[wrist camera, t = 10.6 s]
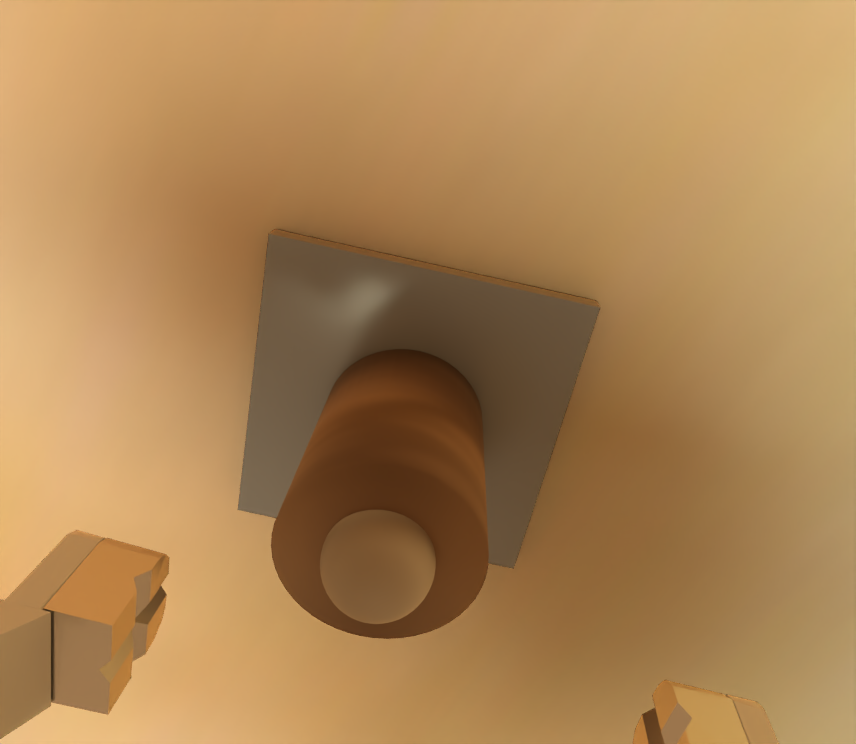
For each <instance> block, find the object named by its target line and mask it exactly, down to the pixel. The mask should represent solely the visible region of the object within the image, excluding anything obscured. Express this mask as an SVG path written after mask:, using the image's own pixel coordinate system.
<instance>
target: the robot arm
mask: <svg viewBox="0 0 856 744" xmlns="http://www.w3.org/2000/svg"><path fill="white" fill-rule="evenodd" d="M168 574H169V557H168V556H167V555H166V554H163V553H160V552H156V551H153V550H149V549H146V548H142V547H138V546H135V545H131V544H128V543H124V542H120V541H117V540H113V539H110V538H103V537H100V536H96V535H93V534H89V533H86V532H82V531H79V530H76V531H73V532H71V533H69V534H68V535H66V536H65V537H64V538H63V539H62V540H61V541H60V543H59V544H58V545H57V546H56V547H55V548H54V549H53V550H52V551H51V552H50V553H49V554H48V555H47V556H46V557H45V558H44V559H43V560H42V562H41V563H40V564H39V565H38V566H37V567H36V568H35V569H34V570H33V571H32V572H31V573H30V574H29V575H28V576H27V577H26V578H25V580H24V581H23V582H22V583H21V584H20V585H19V586H18V587H17V588H16V589H15V590H14V591H13V592H12V593H11V594H10V595H9V596H8V597H7V599H6V600H1V599H0V739H1V738H3V737H4V736H6V735H7V734H9V733H10V732H12V731H13V730H15V729H16V728H18V727H20V726H21V725H23V724H24V723H26V722H27V721H29V720H30V719H32V718H33V717H35V716H36V715H38V714H39V713H41V712H42V711H44V710H45V709H47V708H48V707H50V706H51V702H53V703H57V704H62V705H66V706H71V707H75V708H80V709H85V710H89V711H94V712H98V713H103V714H107V715H108V714H109V713H110V711H111V709H112V708H113V706H114V704H115V703H116V701H117V700H118V698H119V696H120V695H121V693H122V691H123V690H124V688H125V687H126V685H127V683H128V682H129V680H130V679H131V671H132V661H134V660H136V659H137V658H139V657H141V656H143V655H145V654H146V652H147V651H148V649H149V647H150V645H151V644H152V642H153V640H154V638H155V636H156V634H157V631H158V629H159V626H160V624H161V621H162V618H163V614H164V610H165V605H166V596H167V594H166V593H165V591H164V590H163V588H162V587H161V584H162V583H163V581H164V580H165V578H166V577H167V575H168ZM652 696H653V700H654V704H655V708H654V709H652V710H650V711H648V712H646V713H644V714H642V716H641V718H640V720H639V722H638V724H637V726H636V728H635V733H634V739H633V744H779V743H778V741H777V738H776V736H775V734H774V731H773V729H772V726H771V724H770V722H769V719H768V717H767V715H766V712H765V710H764V708H763V707H762V706H761V705H760V704H759V703H758V702H756V701H752V700H748V699H743V698H739V697H735V696H731V695H724V694H722V693H718V692H714V691H710V690H705V689H701V688H697V687H693V686H689V685H685V684H681V683H676V682H672V681H668V680H664V681H663V682H661V683H660V684H659V685H658V686H657V688H656V690H655V692H654V693H653V695H652Z"/></svg>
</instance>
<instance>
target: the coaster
mask: <svg viewBox="0 0 856 744" xmlns="http://www.w3.org/2000/svg"><path fill="white" fill-rule="evenodd" d="M599 310H600V306H599V304H598V302H597V301H595V300H591V299H586V298H582V297H578V296H573V295H569V294H564V293H560V292H555V291H551V290H546V289H542V288H537V287H533V286H528V285H524V284H519V283H515V282H510V281H506V280H501V279H497V278H492V277H488V276H483V275H479V274H474V273H470V272H466V271H461V270H457V269H452V268H448V267H443V266H439V265H434V264H430V263H425V262H421V261H416V260H412V259H407V258H403V257H398V256H394V255H389V254H385V253H380V252H376V251H371V250H367V249H362V248H358V247H353V246H349V245H345V244H340V243H336V242H331V241H327V240H322V239H318V238H313V237H309V236H304V235H300V234H295V233H291V232H286V231H282V230H277V229H274V230H273V231H272V232H270V233H269V236H268V245H267V254H266V263H265V272H264V281H263V290H262V299H261V307H260V316H259V325H258V334H257V343H256V352H255V361H254V370H253V379H252V388H251V397H250V406H249V414H248V423H247V432H246V441H245V450H244V459H243V468H242V477H241V486H240V495H239V504H238V510H241V511H246V512H250V513H255V514H260V515H265V516H269V517H274V518H277V516H278V513H279V511H280V508H281V506H282V504H283V501H284V499H285V497H286V494H287V492H288V490H289V487H290V485H291V483H292V480H293V478H294V476H295V473H296V471H297V469H298V466H299V464H300V462H301V459H302V457H303V455H304V452H305V450H306V448H307V445H308V443H309V441H310V439H311V436H312V434H313V432H314V429H315V427H316V425H317V422H318V420H319V418H320V415H321V413H322V411H323V408H324V406H325V404H326V401H327V399H328V397H329V394H330V392H331V390H332V388H333V386H334V384H335V382H336V381H337V379H338V378H339V377H340V376H341V375H342V373H343V372H344V371H345V370H346V369H348V368H349V367H350V366H351V365H352V364H354V363H355V362H357V361H358V360H360V359H362V358H364V357H366V356H368V355H371V354H374V353H377V352H381V351H386V350H394V349H409V350H416V351H421V352H424V353H428V354H431V355H433V356H436V357H438V358H440V359H442V360H444V361H446V362H447V363H449V364H450V365H452V366H453V367H454V368H456V369H457V370H458V371H459V372H460V373H461V374H462V375H463V376H464V377H465V378H466V379H467V381H468V382H469V383H470V384H471V386H472V388H473V389H474V391H475V393H476V395H477V398H478V400H479V403H480V407H481V411H482V421H483V443H484V464H485V485H486V507H487V528H488V549H489V560H488V563H490V564H494V565H499V566H504V567H508V568H513V569H514V566H515V563H516V560H517V557H518V554H519V551H520V548H521V545H522V542H523V539H524V536H525V533H526V530H527V527H528V524H529V521H530V518H531V515H532V512H533V509H534V506H535V503H536V500H537V497H538V494H539V491H540V488H541V485H542V482H543V479H544V476H545V473H546V470H547V467H548V464H549V461H550V458H551V455H552V452H553V449H554V446H555V443H556V440H557V437H558V433H559V430H560V427H561V424H562V421H563V418H564V415H565V412H566V409H567V406H568V403H569V400H570V397H571V394H572V391H573V388H574V385H575V382H576V379H577V376H578V373H579V370H580V367H581V364H582V361H583V358H584V355H585V352H586V349H587V346H588V343H589V340H590V337H591V334H592V331H593V328H594V325H595V322H596V319H597V316H598V313H599Z"/></svg>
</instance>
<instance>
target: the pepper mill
mask: <svg viewBox="0 0 856 744" xmlns="http://www.w3.org/2000/svg"><path fill="white" fill-rule="evenodd" d="M271 548H272V558H273V561H274V565H275V569H276V571H277V573H278V576H279V578H280V580H281V582H282V583H283V585H284V587H285V588H286V590H287V591H288V592H289V594H290V595H291V596H292V598H293V599H294V600H295V601H296V602H297V603H298V604H299V605H300V606H301V607H302V608H304V609H305V610H306V611H307V612H309V613H310V614H311V615H313V616H314V617H316V618H317V619H319V620H321V621H322V622H324V623H326V624H328V625H330V626H332V627H334V628H337V629H339V630H342V631H345V632H348V633H351V634H355V635H359V636H365V637H372V638H386V639H389V638H404V637H410V636H416V635H419V634H423V633H427V632H429V631H432V630H435V629H437V628H439V627H441V626H443V625H445V624H447V623H449V622H450V621H452V620H453V619H455V618H456V617H457V616H459V615H460V614H461V613H462V612H463V611H464V610H466V609H467V608H468V607H469V605H470V604H471V603H472V602H473V601H474V599H475V598H476V596H477V595H478V593H479V591H480V590H481V588H482V585H483V583H484V580H485V578H486V574H487V569H488V560H489V549H488V528H487V507H486V485H485V464H484V443H483V421H482V411H481V407H480V403H479V400H478V398H477V395H476V393H475V391H474V389H473V388H472V386H471V384H470V383H469V382H468V381H467V379H466V378H465V377H464V376H463V375H462V374H461V373H460V372H459V371H458V370H457V369H456V368H454V367H453V366H452V365H450V364H449V363H447V362H446V361H444V360H442V359H440V358H438V357H436V356H433V355H431V354H428V353H424V352H421V351H416V350H409V349H394V350H386V351H381V352H377V353H374V354H371V355H368V356H366V357H364V358H362V359H360V360H358V361H357V362H355V363H354V364H352V365H351V366H350V367H349V368H348V369H346V370H345V371H344V372H343V373H342V375H341V376H340V377H339V378H338V379H337V381H336V382H335V384H334V386H333V388H332V390H331V392H330V394H329V397H328V399H327V401H326V404H325V406H324V408H323V411H322V413H321V415H320V418H319V420H318V422H317V425H316V427H315V429H314V432H313V434H312V436H311V439H310V441H309V443H308V445H307V448H306V450H305V452H304V455H303V457H302V459H301V462H300V464H299V466H298V469H297V471H296V473H295V476H294V478H293V480H292V483H291V485H290V487H289V490H288V492H287V494H286V497H285V499H284V501H283V504H282V506H281V508H280V511H279V513H278V516H277V518H276V520H275V523H274V527H273V532H272V541H271Z"/></svg>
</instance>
